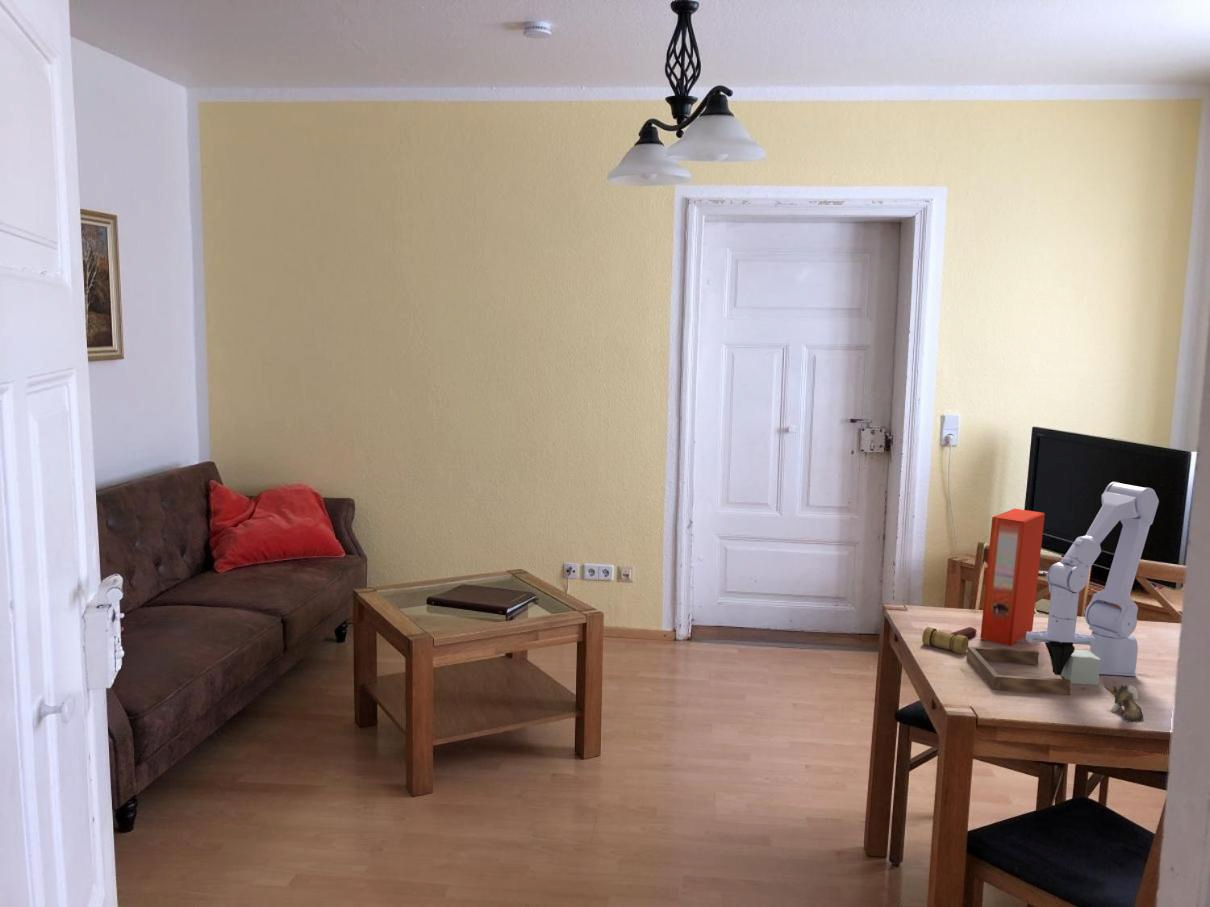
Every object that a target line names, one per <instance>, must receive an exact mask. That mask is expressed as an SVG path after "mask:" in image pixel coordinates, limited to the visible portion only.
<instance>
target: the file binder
mask: <svg viewBox="0 0 1210 907" xmlns="http://www.w3.org/2000/svg"><path fill="white" fill-rule="evenodd" d="M1045 516H1046V514H1045V512H1039V511H1033V510H1029V509H1028V510H1027V509H1026V510H1025V509H1021V508H1012V509H1010V510H1006V511H1004V512H1002V513H1000V514H997V515H994V516H992V517H991V528H990V536H989V537H990V538H989V545H988V556H987V567H986V579H985V589H984V596H983V597H984V598H983V605H982V606H983V607H982V616H981V617H982V618H981V628H980V636H979V637H980V639H983V641H987V640H988V641H987V642H991V643H995V642H996V643H995V644H999V643H1000V645H1003V644H1004V646H1009V647H1012V646H1013V645H1015V644H1016V643H1018V642H1019V641H1020V640H1021V638H1022V637H1023V638H1025V637H1026V636H1025V635H1026V632H1033V627H1034V618H1035V608H1036V601H1037V600H1036V598H1037V590H1038V589H1037V588H1038V581H1039V571H1040V563H1041V554H1042V553H1041V551H1042V543H1043V534H1044V524H1045ZM1023 638H1022V639H1023ZM1018 640H1019V641H1018ZM1014 643H1015V644H1014Z"/></svg>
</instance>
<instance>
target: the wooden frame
mask: <svg viewBox="0 0 1210 907" xmlns="http://www.w3.org/2000/svg"><path fill="white" fill-rule="evenodd" d="M1039 658H1040V652H1039V651H1038V650H1035V649H1034V650H1032V649H1018V648H1016V649H1015V648H1003V647H1001V648H1000V647H985V646H969V645H968V648H967V651H966V660H967V661H968V662H969V663H970V664H971V665H972V666H973V667H974V669H975V670H976V671H977V673H978V674H979V675H980V676H981V677H982V678H983V679H984V681H985V682H986V683H987V684H988V685H989V687H991V689H992V690H994V691H1006V692H1007V691H1009V692H1023V693H1038V694H1039V693H1040V694H1055V695H1056V694H1057V695H1070V694H1071V686H1072V683H1071V681H1070V680H1069V679H1065V678H1052V677H1038V676H1037V677H1035V676H1020V675H1018V676H1017V675H1004V674H1003V675H1001V674H998V673H997V672H996V670H995V669H993V667H992V666H991V665H990V664H989V663H988V662H993V663H1010V664H1028V665H1039Z"/></svg>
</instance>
